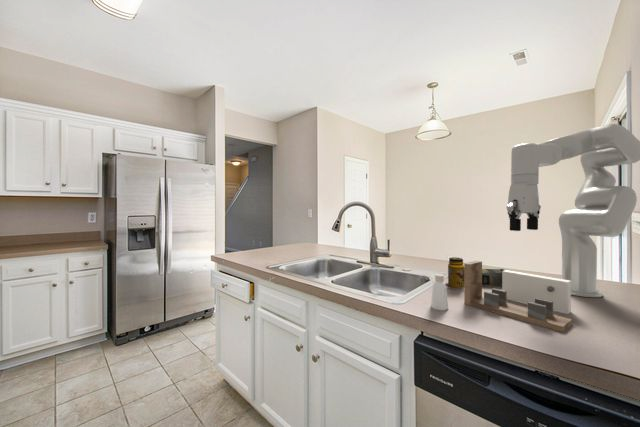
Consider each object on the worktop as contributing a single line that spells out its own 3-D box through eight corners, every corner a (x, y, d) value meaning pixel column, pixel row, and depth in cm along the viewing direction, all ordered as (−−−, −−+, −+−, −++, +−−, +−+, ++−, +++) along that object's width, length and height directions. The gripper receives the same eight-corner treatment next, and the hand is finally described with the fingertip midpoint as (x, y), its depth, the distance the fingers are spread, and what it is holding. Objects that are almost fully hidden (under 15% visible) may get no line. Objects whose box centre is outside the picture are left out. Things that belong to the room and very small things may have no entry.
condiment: (466, 290, 108) (466, 260, 107) (443, 288, 110) (443, 259, 110) (463, 284, 115) (463, 256, 114) (441, 283, 117) (441, 256, 117)
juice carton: (459, 285, 115) (459, 271, 115) (453, 279, 124) (453, 266, 124) (512, 288, 110) (513, 273, 110) (502, 282, 120) (502, 268, 120)
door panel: (506, 296, 99) (506, 269, 99) (570, 312, 84) (570, 280, 84) (501, 298, 97) (501, 271, 97) (566, 315, 82) (566, 282, 82)
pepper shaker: (427, 305, 92) (427, 273, 91) (441, 303, 93) (441, 272, 93) (437, 311, 86) (437, 277, 86) (452, 309, 88) (452, 276, 87)
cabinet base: (476, 298, 97) (476, 260, 97) (572, 324, 76) (572, 275, 75) (464, 303, 93) (464, 263, 92) (562, 332, 71) (563, 279, 71)
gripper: (527, 182, 99) (526, 228, 100) (497, 180, 92) (496, 230, 93) (551, 180, 92) (551, 230, 93) (520, 178, 85) (520, 232, 86)
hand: (523, 230), depth 93 cm, fingers open, 9 cm apart
